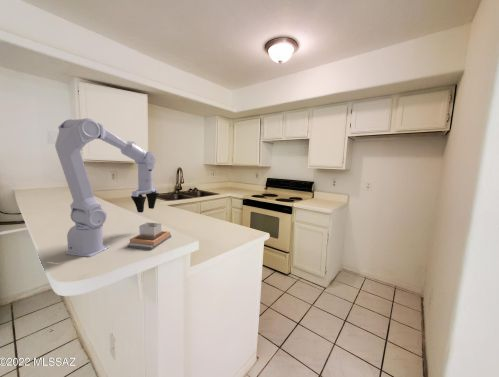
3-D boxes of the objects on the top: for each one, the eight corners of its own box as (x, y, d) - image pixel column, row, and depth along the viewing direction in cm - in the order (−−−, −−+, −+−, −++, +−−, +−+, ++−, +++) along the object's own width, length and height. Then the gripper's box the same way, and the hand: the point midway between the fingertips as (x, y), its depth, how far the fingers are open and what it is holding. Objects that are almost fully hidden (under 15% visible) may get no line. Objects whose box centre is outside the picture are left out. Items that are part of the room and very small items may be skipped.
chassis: (127, 247, 76) (127, 240, 75) (150, 234, 89) (150, 228, 89) (151, 249, 74) (151, 242, 74) (171, 236, 88) (171, 230, 88)
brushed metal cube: (139, 241, 80) (139, 226, 79) (147, 236, 85) (147, 222, 84) (154, 242, 79) (153, 227, 78) (161, 238, 84) (161, 223, 83)
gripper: (143, 181, 82) (143, 214, 83) (163, 179, 96) (163, 207, 98) (127, 180, 83) (128, 213, 84) (149, 178, 97) (149, 206, 99)
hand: (146, 210), depth 91 cm, fingers open, 7 cm apart
